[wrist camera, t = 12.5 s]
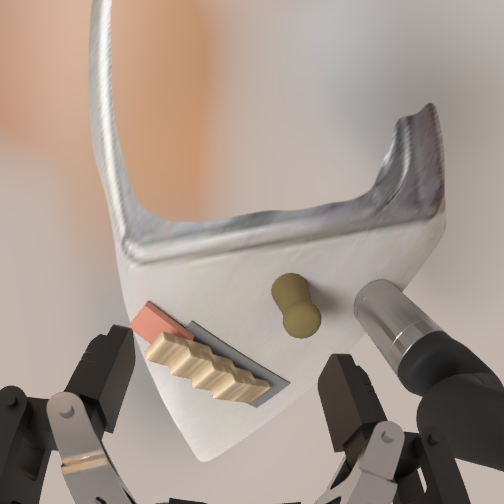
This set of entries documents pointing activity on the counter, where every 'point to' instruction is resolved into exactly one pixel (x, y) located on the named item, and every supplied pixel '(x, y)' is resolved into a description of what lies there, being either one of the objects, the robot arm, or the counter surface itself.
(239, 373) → the domino
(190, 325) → the mat
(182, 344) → the domino
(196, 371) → the domino
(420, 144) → the counter surface
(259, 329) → the counter surface
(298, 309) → the cork
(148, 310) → the domino
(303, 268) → the counter surface
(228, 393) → the domino
